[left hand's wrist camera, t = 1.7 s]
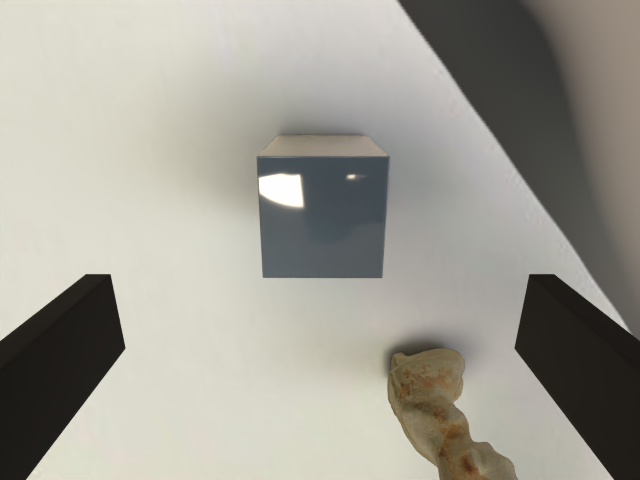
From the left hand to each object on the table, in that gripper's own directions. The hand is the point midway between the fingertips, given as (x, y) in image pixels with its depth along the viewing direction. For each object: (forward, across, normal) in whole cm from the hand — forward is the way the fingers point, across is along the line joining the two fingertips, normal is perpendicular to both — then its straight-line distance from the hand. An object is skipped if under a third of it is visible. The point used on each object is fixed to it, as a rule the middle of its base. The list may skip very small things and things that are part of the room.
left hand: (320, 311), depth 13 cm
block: (+21, 0, 0) cm, 21 cm away
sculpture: (+21, -10, +18) cm, 29 cm away
